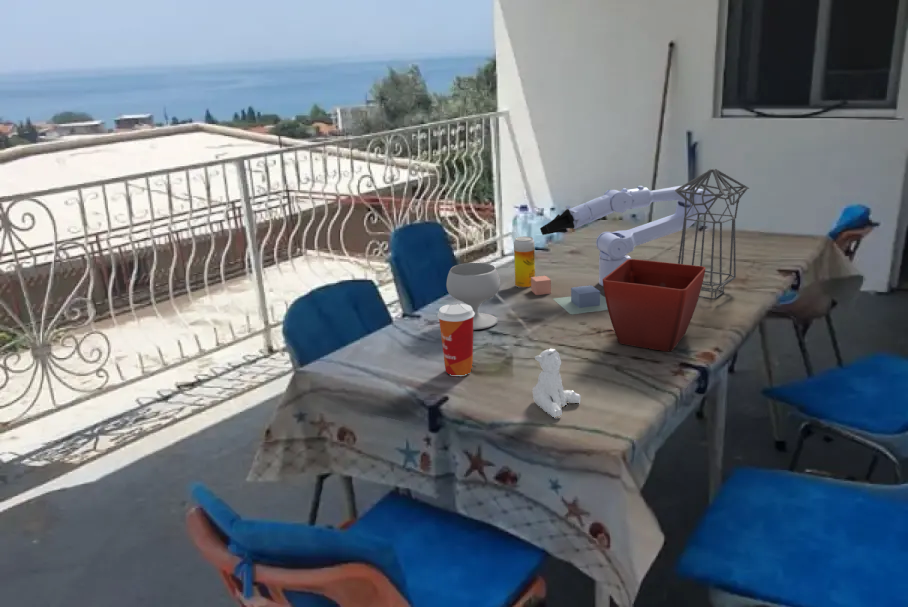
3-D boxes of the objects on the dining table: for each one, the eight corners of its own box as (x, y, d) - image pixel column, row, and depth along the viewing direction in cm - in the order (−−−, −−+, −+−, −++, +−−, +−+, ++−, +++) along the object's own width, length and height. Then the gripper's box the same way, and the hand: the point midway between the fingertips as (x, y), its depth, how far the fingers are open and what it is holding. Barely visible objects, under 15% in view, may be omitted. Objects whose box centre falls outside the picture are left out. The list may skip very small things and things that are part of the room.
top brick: (545, 291, 210) (545, 275, 209) (551, 296, 206) (550, 279, 205) (531, 293, 210) (531, 277, 208) (536, 298, 205) (536, 281, 204)
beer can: (534, 289, 212) (533, 241, 208) (513, 289, 214) (512, 241, 209) (536, 283, 218) (535, 236, 213) (516, 283, 219) (515, 236, 214)
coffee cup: (439, 365, 163) (435, 304, 158) (475, 362, 164) (472, 301, 159) (442, 381, 155) (438, 316, 151) (479, 377, 156) (476, 313, 151)
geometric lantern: (666, 295, 201) (672, 171, 191) (691, 282, 212) (698, 164, 202) (721, 305, 191) (730, 174, 181) (744, 291, 202) (754, 166, 191)
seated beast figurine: (556, 421, 136) (556, 363, 132) (520, 408, 141) (519, 353, 137) (583, 402, 142) (583, 347, 139) (547, 391, 148) (546, 338, 144)
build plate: (598, 295, 204) (598, 292, 204) (619, 310, 191) (619, 308, 191) (552, 301, 202) (552, 298, 201) (570, 317, 189) (570, 314, 188)
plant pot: (681, 360, 159) (685, 289, 153) (599, 347, 169) (601, 279, 163) (702, 332, 174) (706, 266, 169) (626, 321, 184) (628, 258, 178)
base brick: (591, 298, 200) (591, 285, 198) (599, 305, 194) (600, 291, 193) (571, 301, 198) (571, 287, 197) (579, 307, 193) (579, 294, 192)
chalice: (440, 319, 192) (437, 266, 187) (487, 310, 197) (485, 258, 192) (461, 336, 180) (458, 279, 175) (510, 326, 185) (509, 270, 180)
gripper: (575, 203, 210) (533, 220, 209) (589, 195, 196) (544, 213, 195) (584, 225, 210) (542, 242, 209) (598, 218, 196) (554, 236, 195)
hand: (544, 230), depth 202 cm, fingers open, 7 cm apart
